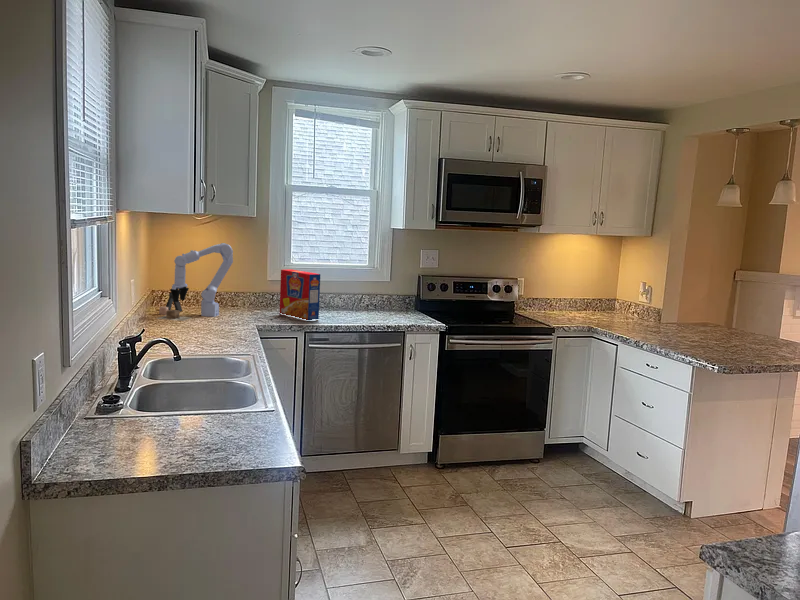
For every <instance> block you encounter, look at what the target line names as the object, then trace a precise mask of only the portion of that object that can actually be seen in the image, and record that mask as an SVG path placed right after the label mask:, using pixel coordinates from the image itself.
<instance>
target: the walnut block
mask: <svg viewBox="0 0 800 600" xmlns="http://www.w3.org/2000/svg"><path fill="white" fill-rule="evenodd" d="M165 316H166V318H171V319H176V318H179V316H180V312H179V310H175V309H171V310H168V311H166V315H165Z"/></svg>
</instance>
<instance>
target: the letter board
mask: <svg viewBox="0 0 800 600" xmlns="http://www.w3.org/2000/svg"><path fill="white" fill-rule="evenodd" d="M192 318H193V317H192V316H191V317H190V316H181V315H179V318H176V319H171V318H166V315H161V316H158V317H156V318H155V319H156V320H166V321H168V320H169V321H170V320H171V321H181V322H182V321H183V322H184V321H187V320H191V319H192Z"/></svg>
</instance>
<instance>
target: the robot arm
mask: <svg viewBox="0 0 800 600" xmlns="http://www.w3.org/2000/svg"><path fill="white" fill-rule="evenodd" d="M213 253H216V254H220V255H221V257H222V260H223V261H222V263H221V264H220V266H219V268H218V269H217V271H216V273H215V274H214V275H213V278H212V279H211V281H210V282H209V284H208V285H207V286H206V287H205V289H203V290H202V291H201V294H200V295H201V298H202V300H200V301H201V305H200V306H201V307H200V315H201V316H202V317H210V318H213V317H214V318H216V317H219V315H220V305H219V303H218V302H215V298H216V293H217V291H218V288H219V286H220V285H221V283H222V281H223V279H224V278H225V277H226V275H227V273H228V271H229V269H230V268H231V266H232V265H233V263H234V257H233V256H234V255H233V253H234V249H233V248H232V246H231V245H230V244H228V243H225V242H222V243H218V244H214V245H212V246H209V247H207V248H204V249H202V250H199V251H197V250H193V249H191V250H190V251H189V252H187V253H181V255H177V256H175V258H174V261H173V262H174V264H175V266H174V267H175V268H174V283H173V284H172V285H171V288H170V289H169V291H170V293H172V295H173V299H174V302H178V300H179V301H185V300H186V296H187V293H188V291H189V290H190V289H189V287H188V284H187V283H186V272H187V271H186V269H187V268H186V265H187V264H190V263H194V262H197V261H199V260H200V258H201V257H203V256H207V255H211V254H213ZM174 302H173V303H174Z"/></svg>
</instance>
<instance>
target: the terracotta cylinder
mask: <svg viewBox="0 0 800 600" xmlns="http://www.w3.org/2000/svg"><path fill="white" fill-rule="evenodd" d="M166 311H168V307H166V306H160V307H159V308H158V312H159V313H158V314H159V315H161V316H166Z"/></svg>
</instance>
